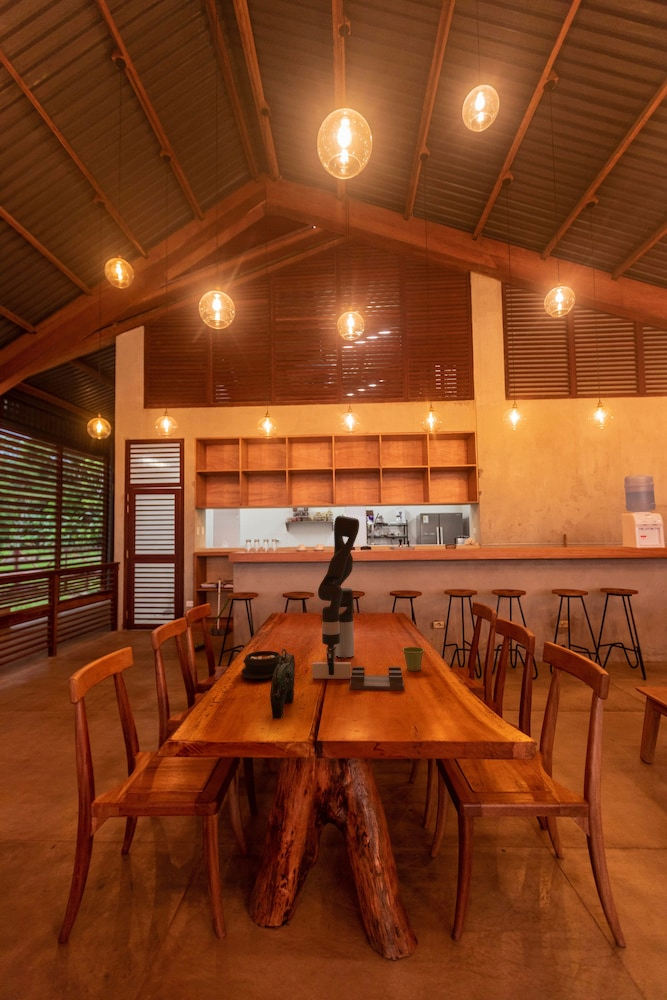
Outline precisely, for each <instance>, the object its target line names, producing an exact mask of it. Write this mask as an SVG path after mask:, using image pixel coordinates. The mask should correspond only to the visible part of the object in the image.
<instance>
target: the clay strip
mask: <svg viewBox="0 0 667 1000" xmlns="http://www.w3.org/2000/svg"><path fill="white" fill-rule="evenodd" d="M351 663H352V662H351V661H349V662H348V661H347V662H346V661H342V662H341V661H340V662H339V661H335V662H334V675H329V666H328V665H327V661H326V662H325V661H321V662H320V661H313V662H312V664H311V667H312V670H311V671H312V679H328V680H329V679H341V680H342V679H343V680H345V679H347V680H349V679H350V680H351V675H352V666H351V665H352V664H351Z"/></svg>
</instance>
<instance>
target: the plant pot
mask: <svg viewBox="0 0 667 1000" xmlns="http://www.w3.org/2000/svg"><path fill="white" fill-rule="evenodd" d="M402 651H403V654H404V658H405V659H404V660H405V664H406V669H407V670H408V671H411V672H417V671H421V670H422V663H423V662H422V660H423V655H424V651H425V649H424V648H422V647H417V646H407V647H406V646H405V647H404V648H402Z"/></svg>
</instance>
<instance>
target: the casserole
mask: <svg viewBox="0 0 667 1000" xmlns="http://www.w3.org/2000/svg"><path fill="white" fill-rule="evenodd" d="M280 656H281V654H280V652H277V651H273V650H272V651H271V650H260V651H253V652H250V653H247V654H246V655H245V657H244V659H243V660H242V661H243V664H244V668H243V669H242V670H241V672H240V673H241V674H242V675H241V677H242V678H243V679H247V680H248V679H249V680H263V679H264V680H265V679H269V678H271V677H273V673H274V670H275V669H276V667H277V665H278V663H279V660H280Z"/></svg>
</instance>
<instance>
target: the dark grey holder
mask: <svg viewBox="0 0 667 1000" xmlns="http://www.w3.org/2000/svg"><path fill="white" fill-rule="evenodd" d="M365 672H366V671H365V666H351V679H350V682H349V690H350V691H405V684H404V677H403V673H402V672H403V671H402V667H401V666H388V674H387V675H386V674H385V675H384V674H383V675H382V674H379V675H378V674H377V675H376V674H365Z"/></svg>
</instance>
